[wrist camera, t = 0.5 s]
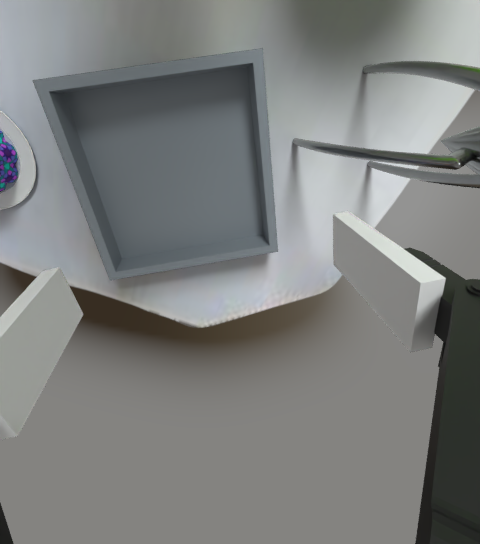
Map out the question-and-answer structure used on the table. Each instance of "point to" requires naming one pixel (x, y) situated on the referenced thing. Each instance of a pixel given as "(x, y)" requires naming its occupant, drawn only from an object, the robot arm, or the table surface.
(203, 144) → the bin
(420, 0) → the table surface
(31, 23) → the table surface
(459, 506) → the robot arm
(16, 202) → the pudding
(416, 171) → the juicer
